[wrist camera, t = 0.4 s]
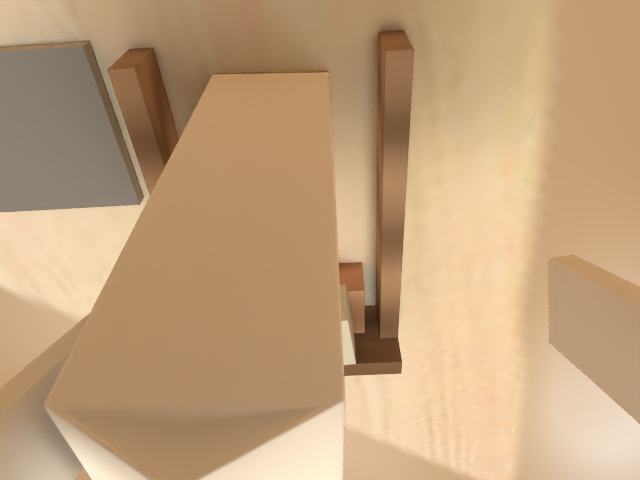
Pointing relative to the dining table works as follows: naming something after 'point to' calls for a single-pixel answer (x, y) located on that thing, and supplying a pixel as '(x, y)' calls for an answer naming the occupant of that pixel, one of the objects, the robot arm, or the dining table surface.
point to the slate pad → (60, 132)
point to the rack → (393, 140)
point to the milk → (222, 304)
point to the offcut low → (354, 292)
